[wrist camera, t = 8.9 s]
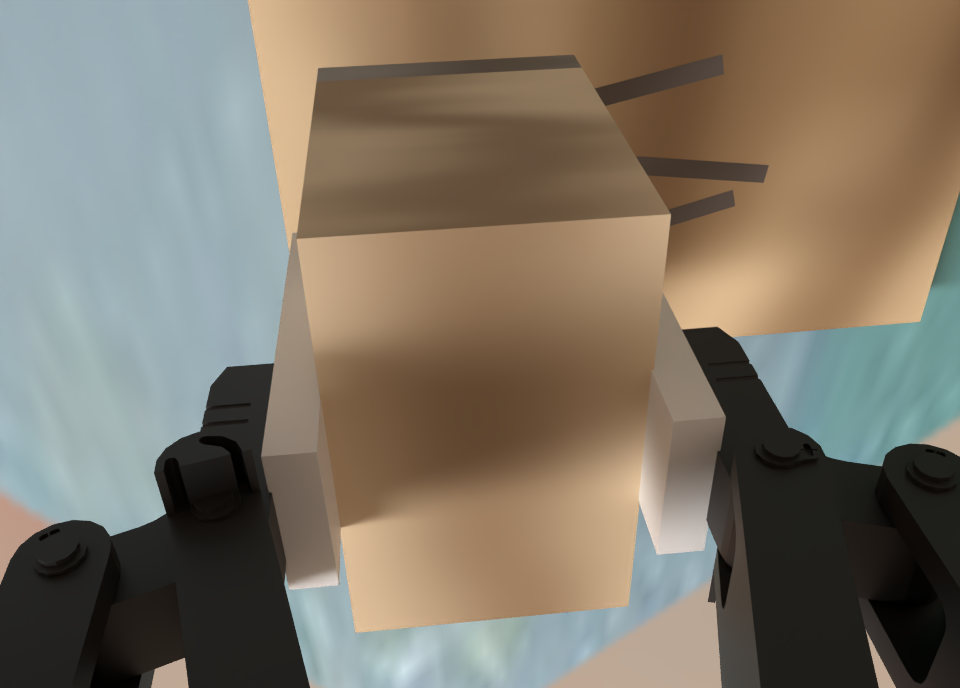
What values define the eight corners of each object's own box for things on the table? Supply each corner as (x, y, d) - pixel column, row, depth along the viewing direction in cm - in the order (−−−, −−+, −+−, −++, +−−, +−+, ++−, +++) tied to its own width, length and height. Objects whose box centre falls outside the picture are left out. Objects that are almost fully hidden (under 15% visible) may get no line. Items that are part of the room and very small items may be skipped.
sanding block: (357, 395, 22) (355, 632, 17) (318, 67, 18) (296, 239, 12) (561, 379, 23) (628, 606, 17) (573, 54, 18) (671, 213, 12)
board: (311, 340, 27) (309, 371, 26) (240, -104, 20) (233, -91, 19) (895, 294, 29) (919, 321, 27) (1017, -138, 22) (1057, -128, 20)
